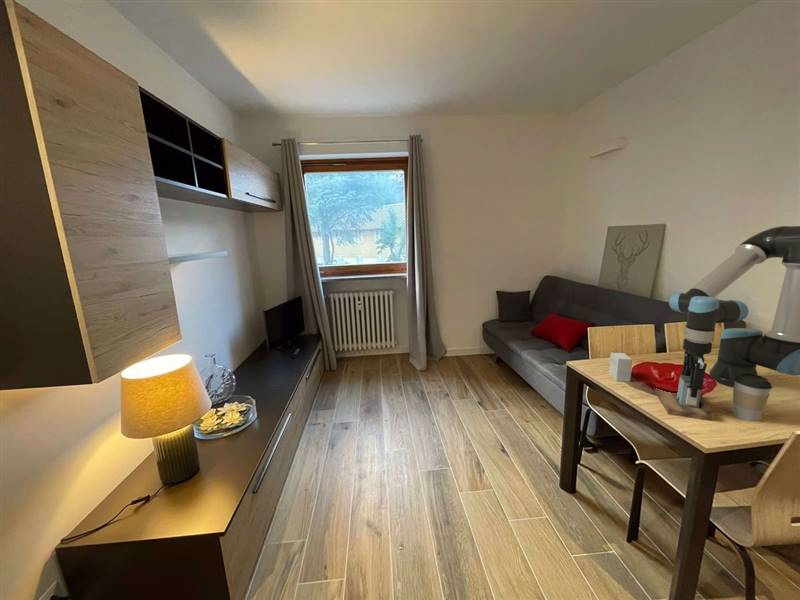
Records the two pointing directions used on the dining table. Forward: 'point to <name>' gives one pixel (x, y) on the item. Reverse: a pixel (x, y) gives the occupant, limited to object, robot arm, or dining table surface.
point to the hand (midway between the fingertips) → (688, 400)
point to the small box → (620, 367)
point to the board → (686, 411)
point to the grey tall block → (685, 391)
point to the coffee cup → (750, 396)
